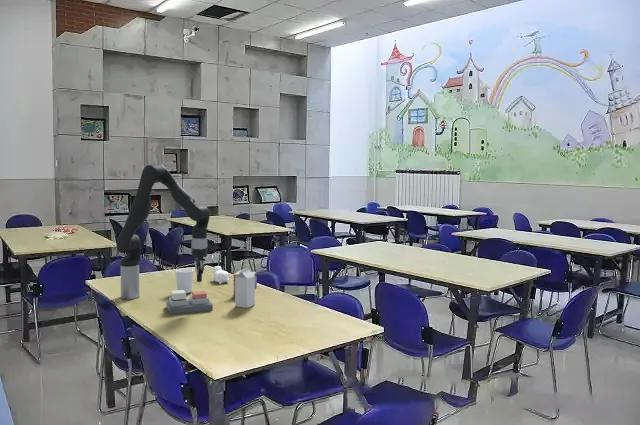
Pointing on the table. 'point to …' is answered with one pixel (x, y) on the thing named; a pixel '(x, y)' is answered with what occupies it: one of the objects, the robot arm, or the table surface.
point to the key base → (188, 305)
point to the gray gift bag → (238, 273)
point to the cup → (184, 279)
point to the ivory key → (178, 294)
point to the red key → (199, 295)
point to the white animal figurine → (220, 275)
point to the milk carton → (245, 289)
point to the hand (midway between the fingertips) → (199, 281)
